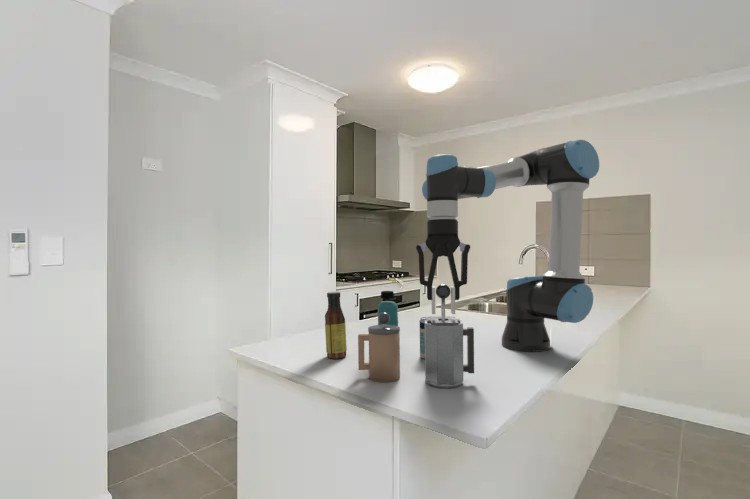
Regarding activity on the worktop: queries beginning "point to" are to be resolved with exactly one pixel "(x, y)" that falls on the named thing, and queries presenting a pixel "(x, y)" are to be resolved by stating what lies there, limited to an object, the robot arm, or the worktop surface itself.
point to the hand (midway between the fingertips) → (443, 312)
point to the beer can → (422, 336)
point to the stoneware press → (381, 351)
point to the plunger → (443, 297)
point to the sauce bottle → (335, 328)
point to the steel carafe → (447, 352)
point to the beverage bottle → (388, 308)
